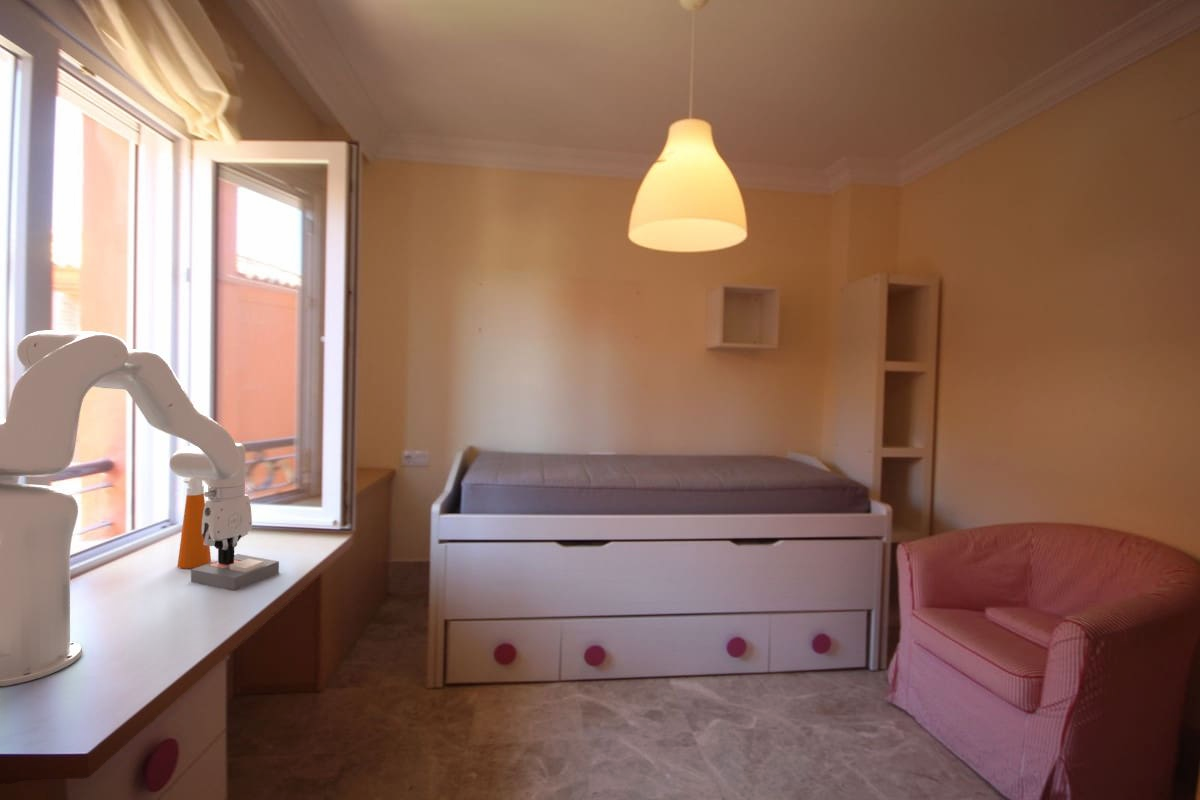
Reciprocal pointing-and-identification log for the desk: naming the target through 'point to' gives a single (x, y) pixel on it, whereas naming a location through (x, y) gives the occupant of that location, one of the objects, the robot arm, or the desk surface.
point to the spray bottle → (193, 527)
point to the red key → (222, 564)
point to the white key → (246, 565)
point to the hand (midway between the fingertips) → (226, 563)
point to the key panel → (233, 574)
